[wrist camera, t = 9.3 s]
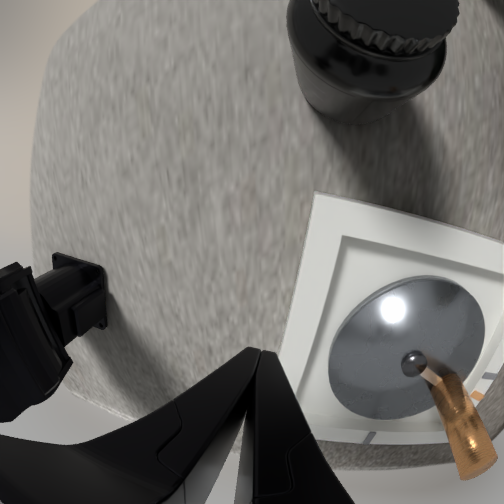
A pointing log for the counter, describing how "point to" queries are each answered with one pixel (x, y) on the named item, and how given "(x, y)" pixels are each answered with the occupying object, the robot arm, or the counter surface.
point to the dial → (415, 361)
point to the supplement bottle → (367, 53)
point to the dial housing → (367, 282)
